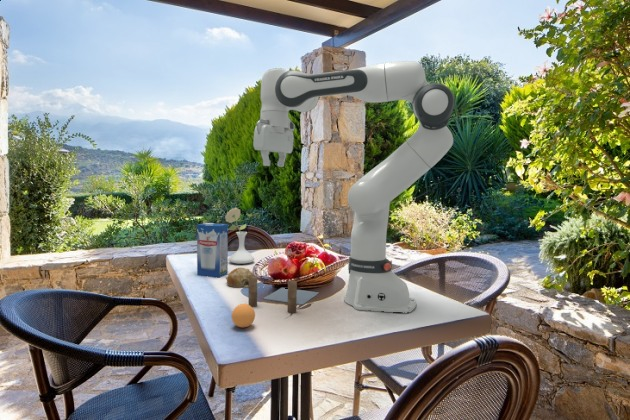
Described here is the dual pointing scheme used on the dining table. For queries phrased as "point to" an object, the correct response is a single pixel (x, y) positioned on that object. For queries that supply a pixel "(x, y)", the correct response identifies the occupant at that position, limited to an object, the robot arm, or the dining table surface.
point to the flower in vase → (241, 254)
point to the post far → (253, 291)
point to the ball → (243, 315)
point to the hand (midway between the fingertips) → (273, 166)
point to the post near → (292, 296)
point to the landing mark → (282, 296)
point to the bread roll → (239, 278)
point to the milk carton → (212, 250)
